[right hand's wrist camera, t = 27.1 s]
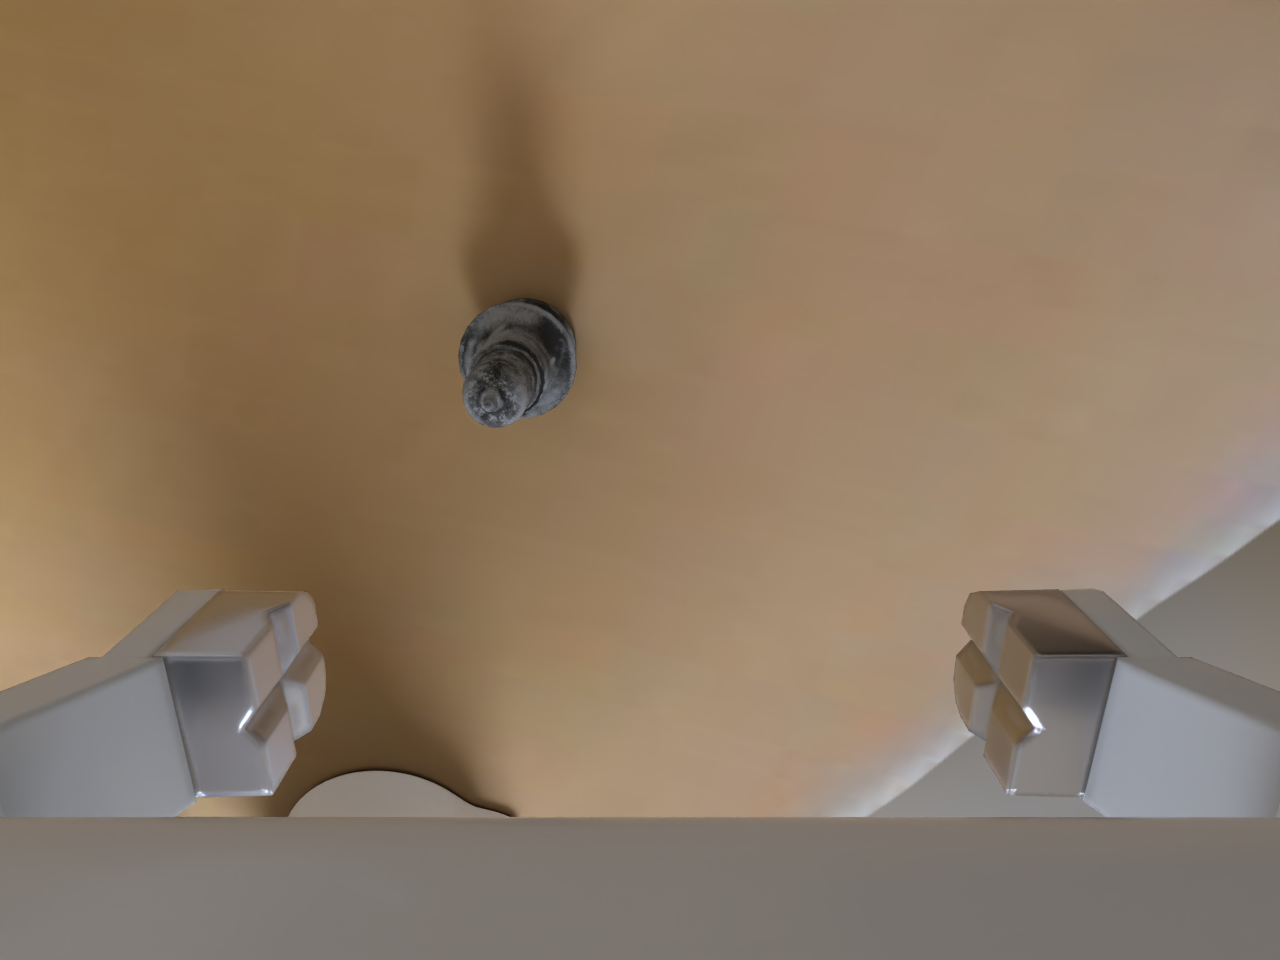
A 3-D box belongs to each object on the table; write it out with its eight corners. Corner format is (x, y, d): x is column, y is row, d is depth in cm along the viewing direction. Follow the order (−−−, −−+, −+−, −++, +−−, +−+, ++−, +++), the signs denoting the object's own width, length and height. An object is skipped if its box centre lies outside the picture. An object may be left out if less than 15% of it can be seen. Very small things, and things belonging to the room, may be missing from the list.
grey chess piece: (458, 378, 44) (397, 446, 33) (491, 275, 42) (437, 310, 31) (560, 415, 45) (534, 495, 34) (596, 316, 43) (581, 365, 32)
